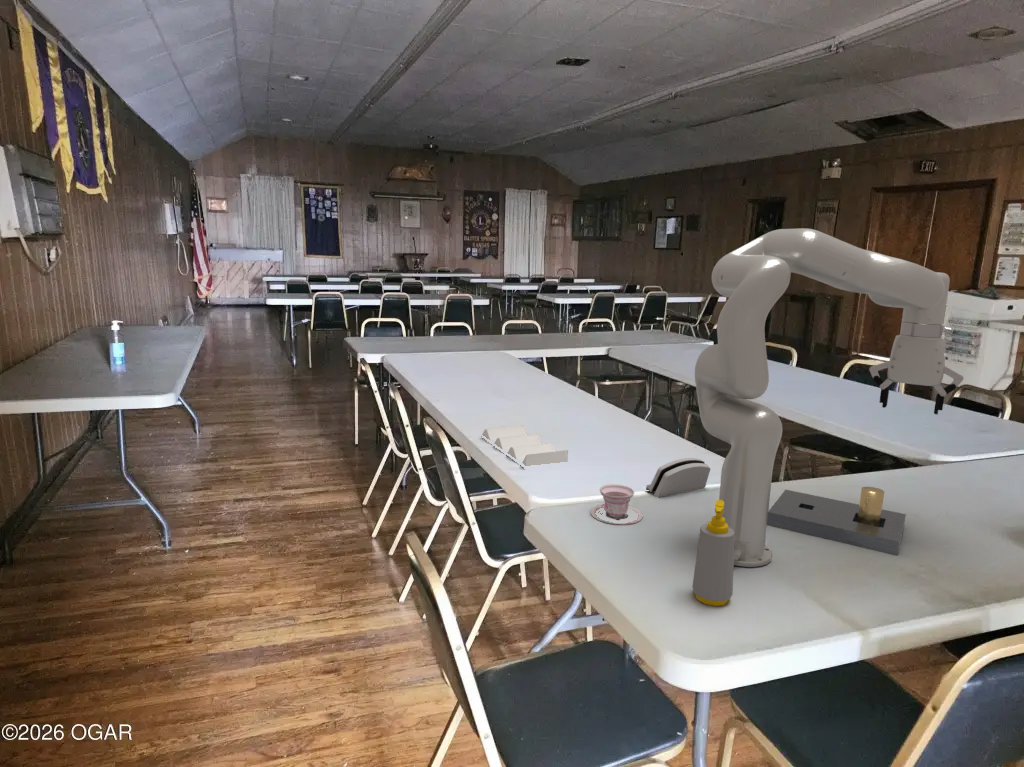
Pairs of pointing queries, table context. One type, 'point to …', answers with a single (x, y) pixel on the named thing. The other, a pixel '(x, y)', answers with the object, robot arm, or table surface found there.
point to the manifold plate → (836, 521)
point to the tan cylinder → (870, 506)
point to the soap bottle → (715, 560)
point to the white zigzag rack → (525, 446)
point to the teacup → (616, 502)
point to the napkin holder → (679, 477)
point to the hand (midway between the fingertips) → (909, 409)
